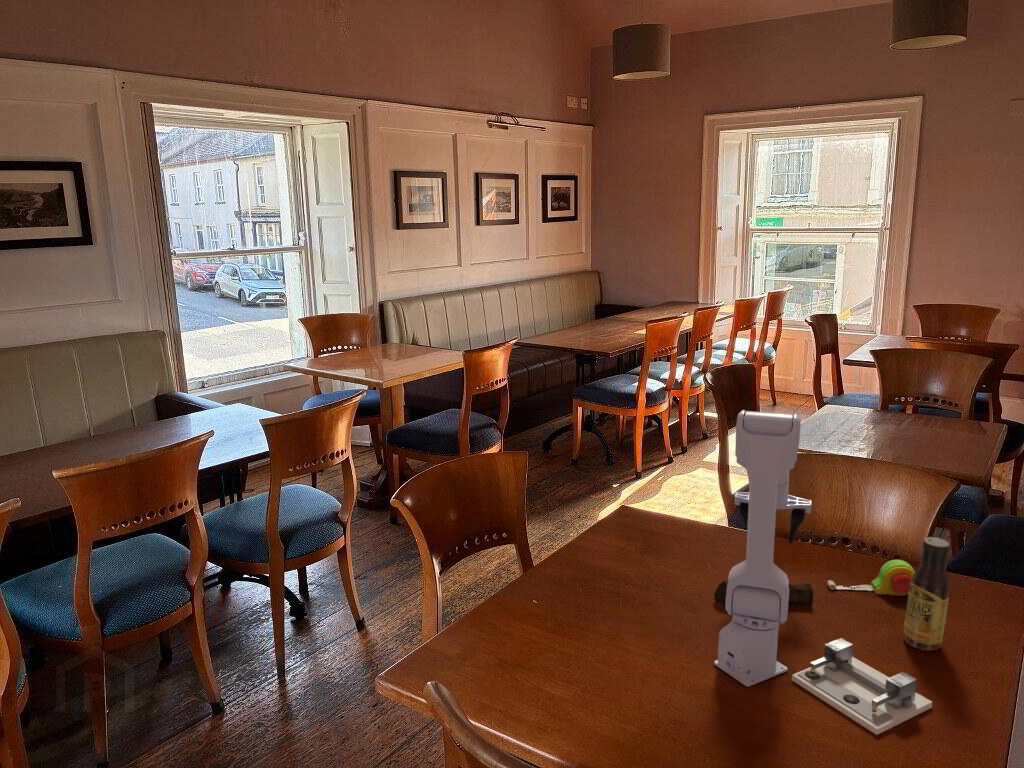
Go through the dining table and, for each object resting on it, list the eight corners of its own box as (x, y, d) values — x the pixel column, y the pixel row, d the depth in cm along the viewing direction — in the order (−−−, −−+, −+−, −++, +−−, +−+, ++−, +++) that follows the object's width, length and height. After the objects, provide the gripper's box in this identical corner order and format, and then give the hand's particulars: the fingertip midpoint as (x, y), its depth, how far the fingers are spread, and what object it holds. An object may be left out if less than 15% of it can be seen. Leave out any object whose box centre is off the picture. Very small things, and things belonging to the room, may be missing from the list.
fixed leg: (816, 679, 127) (818, 658, 126) (805, 671, 129) (806, 651, 128) (851, 664, 131) (853, 644, 130) (839, 657, 133) (841, 637, 132)
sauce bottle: (894, 638, 141) (904, 536, 137) (920, 631, 143) (931, 530, 139) (924, 657, 135) (936, 550, 131) (951, 649, 137) (963, 544, 133)
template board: (876, 735, 115) (878, 721, 115) (791, 680, 129) (792, 668, 129) (931, 707, 122) (933, 695, 121) (844, 657, 135) (845, 646, 135)
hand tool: (808, 598, 157) (809, 576, 156) (814, 608, 153) (815, 586, 152) (712, 596, 158) (712, 575, 157) (715, 606, 154) (716, 584, 153)
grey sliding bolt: (879, 717, 117) (881, 696, 117) (865, 709, 119) (867, 687, 119) (914, 700, 121) (916, 679, 120) (900, 692, 123) (902, 671, 122)
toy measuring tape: (934, 601, 154) (937, 570, 153) (831, 595, 157) (833, 565, 156) (923, 586, 160) (926, 556, 159) (823, 581, 163) (826, 552, 162)
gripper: (813, 473, 155) (809, 531, 160) (737, 466, 160) (736, 523, 165) (812, 490, 149) (808, 550, 154) (734, 482, 154) (732, 540, 159)
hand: (770, 537), depth 159 cm, fingers open, 7 cm apart
